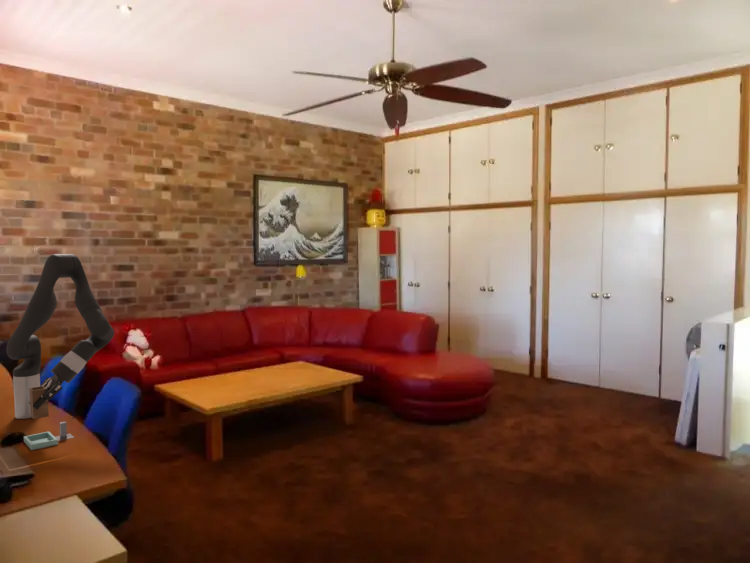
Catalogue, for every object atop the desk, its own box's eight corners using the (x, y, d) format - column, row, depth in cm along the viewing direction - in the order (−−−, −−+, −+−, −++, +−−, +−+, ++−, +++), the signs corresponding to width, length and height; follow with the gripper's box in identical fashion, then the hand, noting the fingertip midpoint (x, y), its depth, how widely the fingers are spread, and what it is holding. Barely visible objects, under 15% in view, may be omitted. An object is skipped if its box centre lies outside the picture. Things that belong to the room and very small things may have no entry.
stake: (52, 438, 202) (52, 422, 202) (69, 435, 206) (69, 419, 205) (57, 442, 198) (56, 426, 198) (74, 438, 202) (73, 422, 201)
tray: (23, 443, 198) (23, 436, 197) (49, 437, 203) (49, 431, 203) (31, 452, 189) (31, 445, 189) (57, 446, 195) (57, 439, 194)
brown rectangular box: (30, 416, 195) (29, 388, 195) (45, 413, 199) (44, 385, 198) (33, 419, 192) (32, 390, 191) (48, 416, 195) (47, 388, 195)
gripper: (55, 357, 204) (19, 396, 197) (66, 363, 194) (28, 404, 187) (72, 369, 208) (36, 408, 201) (83, 376, 198) (46, 416, 191)
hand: (32, 406), depth 194 cm, fingers closed on brown rectangular box, 4 cm apart
